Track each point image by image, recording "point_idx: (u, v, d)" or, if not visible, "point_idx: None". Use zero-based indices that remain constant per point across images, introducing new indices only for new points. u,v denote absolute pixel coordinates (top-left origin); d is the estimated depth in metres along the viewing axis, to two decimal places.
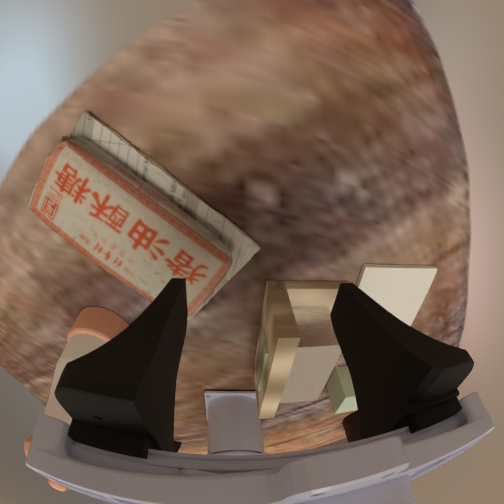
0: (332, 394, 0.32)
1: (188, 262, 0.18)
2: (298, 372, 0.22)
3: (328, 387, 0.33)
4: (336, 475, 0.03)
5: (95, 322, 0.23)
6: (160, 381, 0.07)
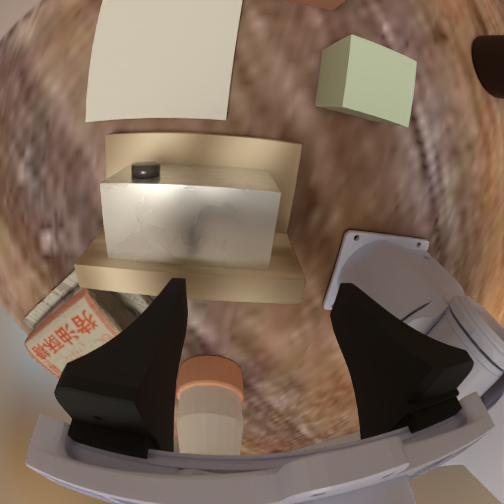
0: (371, 118, 0.15)
1: (80, 319, 0.19)
2: (165, 244, 0.14)
3: (368, 119, 0.16)
4: (336, 475, 0.03)
5: (177, 384, 0.26)
6: (160, 381, 0.07)
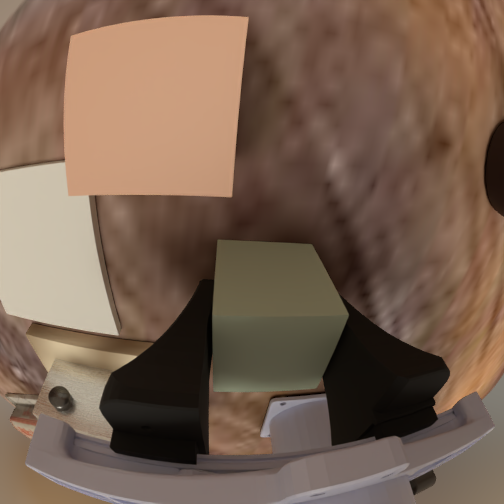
0: None
1: None
2: None
3: None
4: (336, 475, 0.03)
5: None
6: (205, 384, 0.07)
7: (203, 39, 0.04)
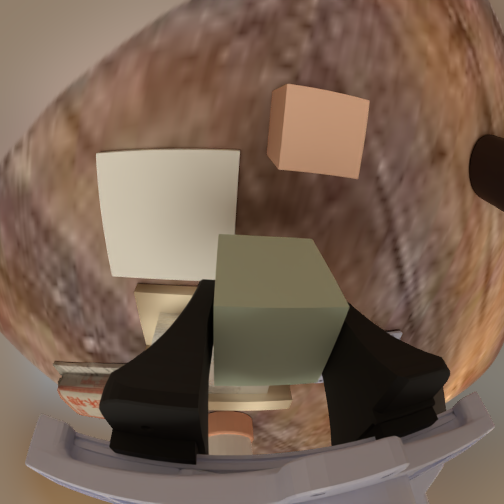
0: None
1: None
2: None
3: None
4: (336, 475, 0.03)
5: None
6: (204, 384, 0.07)
7: (352, 108, 0.12)
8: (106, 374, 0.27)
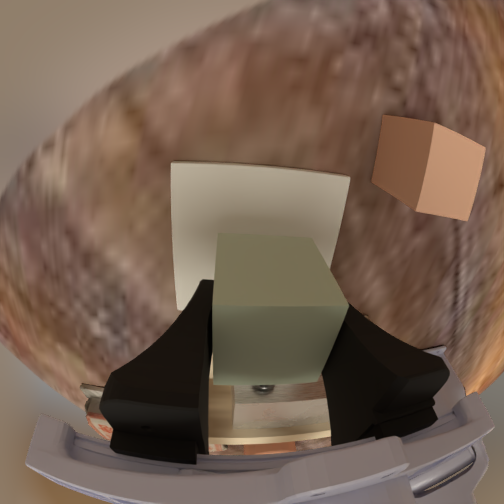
0: None
1: None
2: (280, 421, 0.17)
3: None
4: (336, 475, 0.03)
5: (245, 451, 0.30)
6: (205, 384, 0.07)
7: (475, 154, 0.10)
8: None
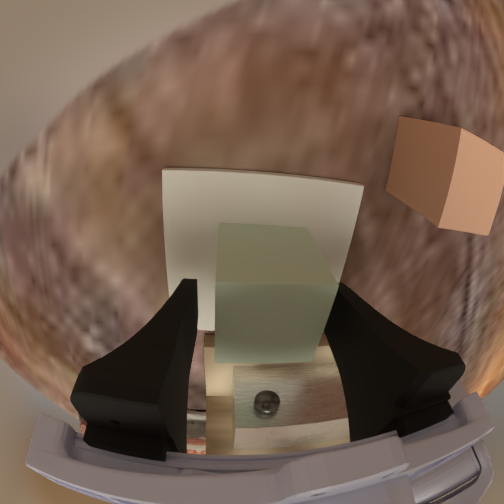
0: None
1: (194, 451, 0.21)
2: (283, 442, 0.16)
3: None
4: (336, 475, 0.03)
5: None
6: (177, 383, 0.07)
7: (499, 164, 0.08)
8: None
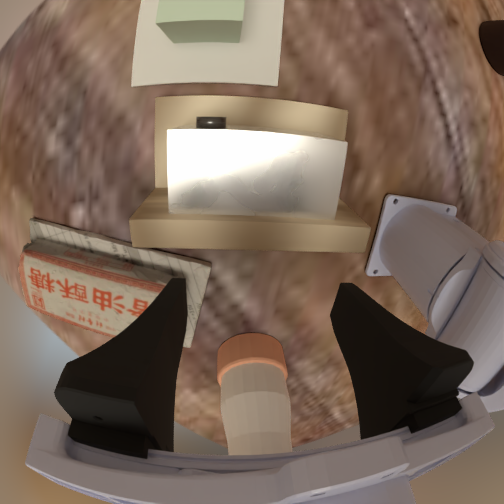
0: (219, 33, 0.12)
1: (145, 306, 0.20)
2: (235, 193, 0.14)
3: (230, 39, 0.13)
4: (336, 475, 0.03)
5: (218, 367, 0.26)
6: (160, 381, 0.07)
7: None
8: (108, 254, 0.21)
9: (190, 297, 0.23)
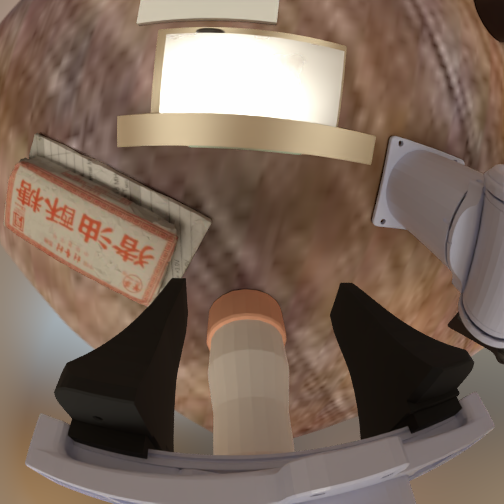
0: None
1: (133, 245, 0.18)
2: (229, 91, 0.12)
3: None
4: (336, 475, 0.03)
5: (208, 327, 0.24)
6: (160, 381, 0.07)
7: None
8: (107, 185, 0.19)
9: (180, 251, 0.22)
